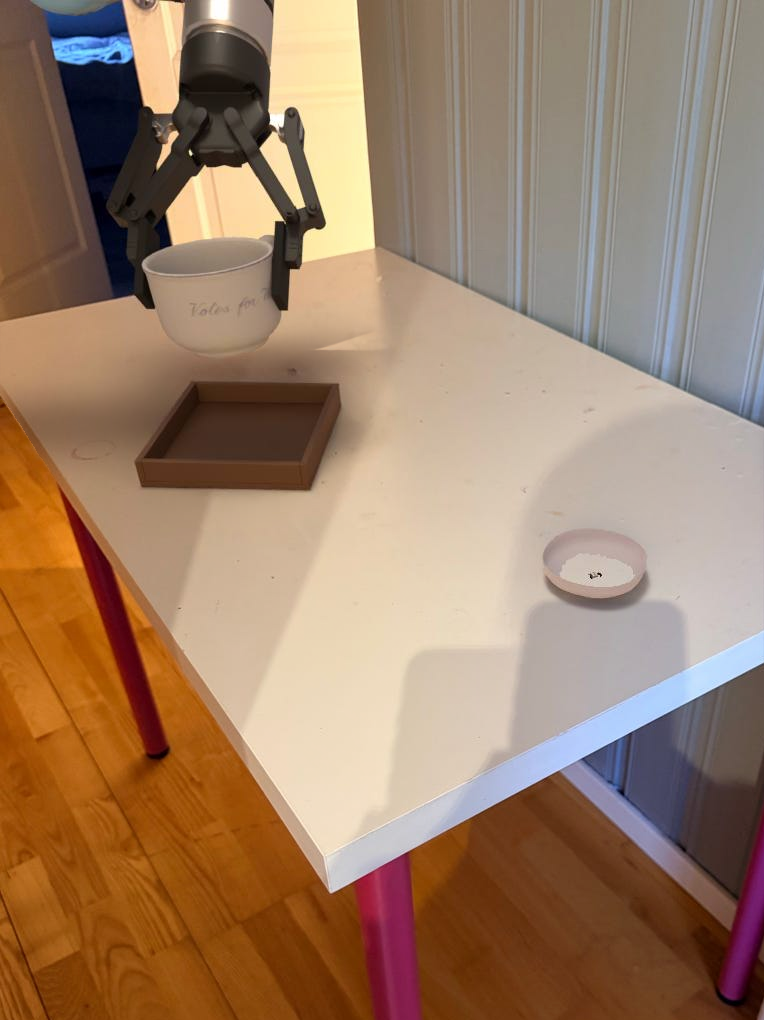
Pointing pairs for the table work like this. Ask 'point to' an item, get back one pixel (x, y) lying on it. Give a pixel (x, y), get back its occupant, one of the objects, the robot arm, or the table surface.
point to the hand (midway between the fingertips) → (211, 302)
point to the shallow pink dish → (593, 544)
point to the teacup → (215, 294)
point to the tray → (242, 436)
